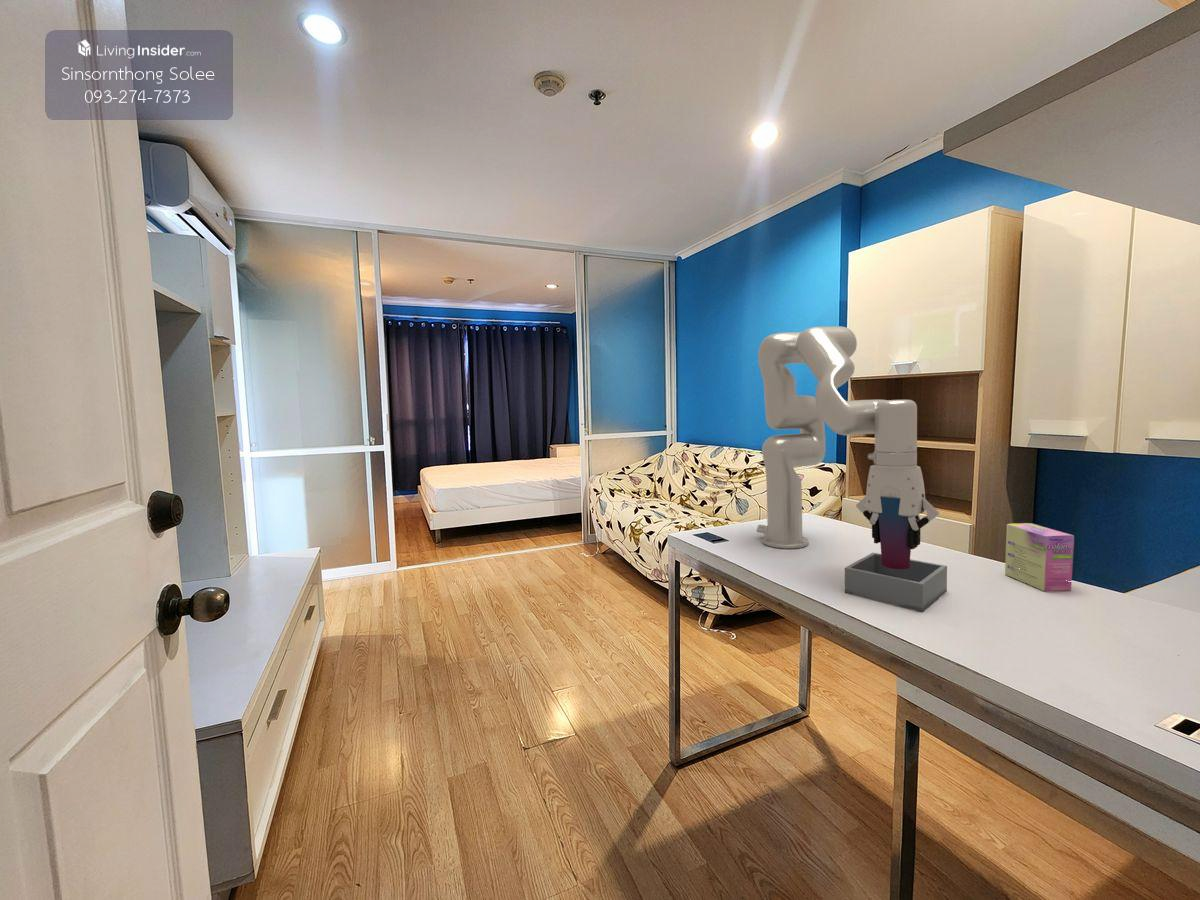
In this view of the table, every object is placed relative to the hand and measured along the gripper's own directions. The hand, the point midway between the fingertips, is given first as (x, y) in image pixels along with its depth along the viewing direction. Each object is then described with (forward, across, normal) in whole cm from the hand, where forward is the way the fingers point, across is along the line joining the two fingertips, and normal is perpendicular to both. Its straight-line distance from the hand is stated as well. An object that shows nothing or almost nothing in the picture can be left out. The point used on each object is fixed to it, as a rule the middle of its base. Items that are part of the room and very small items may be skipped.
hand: (895, 544), depth 105 cm
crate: (+10, 0, 0) cm, 10 cm away
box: (+11, +19, +25) cm, 33 cm away
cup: (+5, 0, 0) cm, 5 cm away
